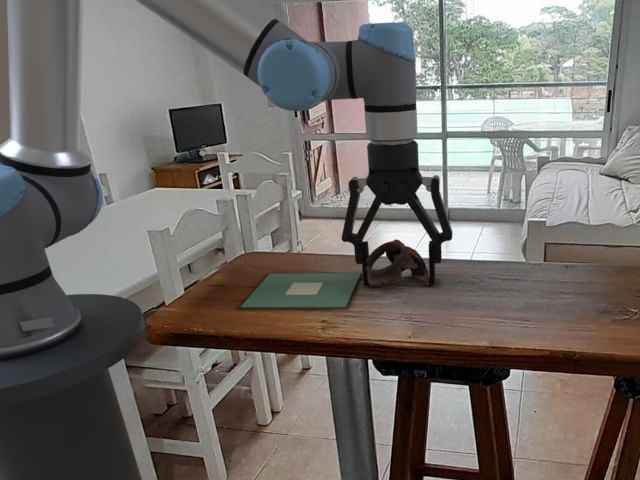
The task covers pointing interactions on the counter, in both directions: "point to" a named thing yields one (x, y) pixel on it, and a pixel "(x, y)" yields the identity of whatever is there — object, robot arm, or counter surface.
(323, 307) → the centre mat
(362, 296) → the counter surface
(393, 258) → the broken pottery ring
